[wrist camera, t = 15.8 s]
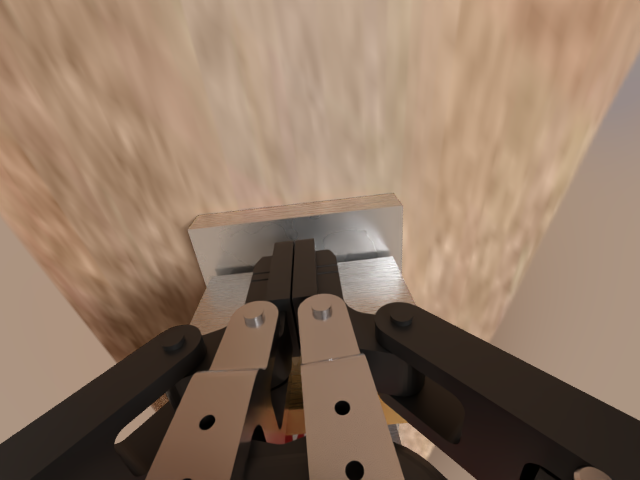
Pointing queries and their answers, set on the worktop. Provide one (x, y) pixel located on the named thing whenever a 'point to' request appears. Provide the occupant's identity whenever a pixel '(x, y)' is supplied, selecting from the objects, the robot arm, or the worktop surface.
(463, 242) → the worktop surface
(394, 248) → the vise
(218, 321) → the sliding jaw
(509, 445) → the robot arm
